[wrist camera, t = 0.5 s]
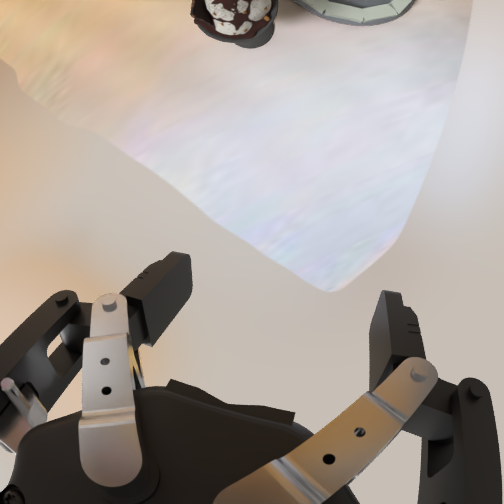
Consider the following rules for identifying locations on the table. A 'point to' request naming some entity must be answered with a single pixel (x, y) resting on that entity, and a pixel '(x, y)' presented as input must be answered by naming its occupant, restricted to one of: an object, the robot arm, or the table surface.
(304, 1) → the tray
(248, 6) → the sundae
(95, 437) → the robot arm
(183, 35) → the table surface
